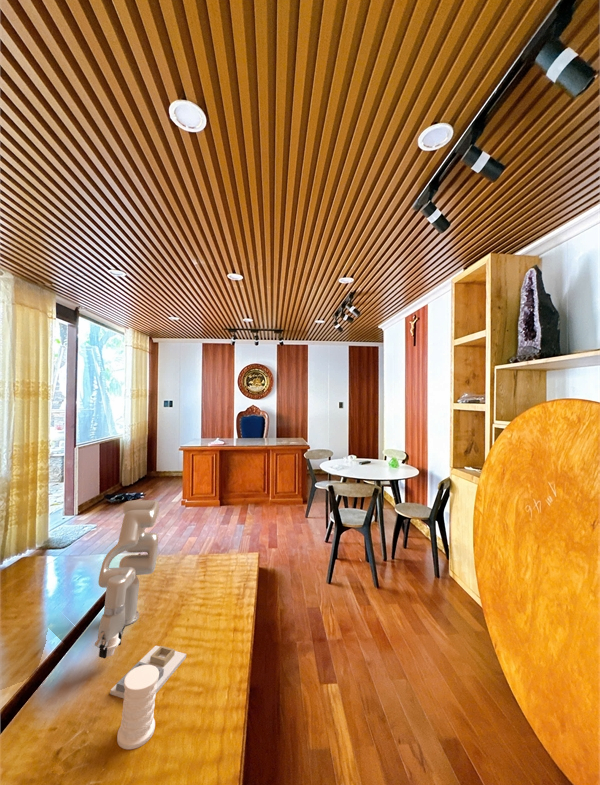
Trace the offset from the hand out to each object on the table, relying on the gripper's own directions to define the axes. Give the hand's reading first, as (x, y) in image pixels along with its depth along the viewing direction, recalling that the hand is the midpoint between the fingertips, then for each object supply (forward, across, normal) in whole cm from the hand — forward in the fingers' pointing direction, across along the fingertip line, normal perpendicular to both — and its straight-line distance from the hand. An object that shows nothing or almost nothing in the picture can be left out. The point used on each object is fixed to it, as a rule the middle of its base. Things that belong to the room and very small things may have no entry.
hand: (110, 650), depth 139 cm
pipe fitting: (+2, 0, 0) cm, 2 cm away
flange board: (+7, -3, +19) cm, 20 cm away
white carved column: (+6, +20, +30) cm, 37 cm away
